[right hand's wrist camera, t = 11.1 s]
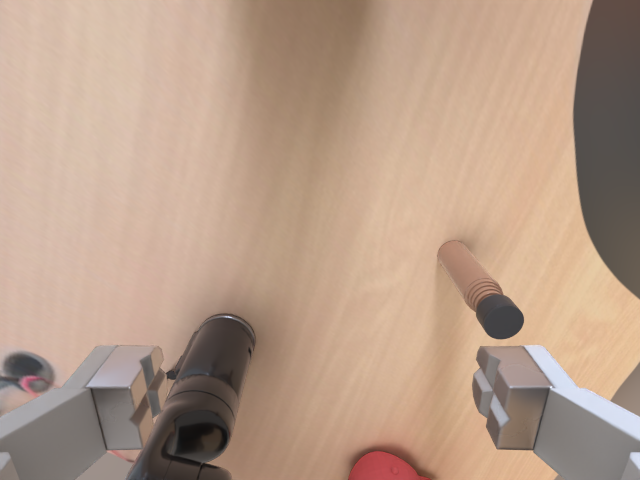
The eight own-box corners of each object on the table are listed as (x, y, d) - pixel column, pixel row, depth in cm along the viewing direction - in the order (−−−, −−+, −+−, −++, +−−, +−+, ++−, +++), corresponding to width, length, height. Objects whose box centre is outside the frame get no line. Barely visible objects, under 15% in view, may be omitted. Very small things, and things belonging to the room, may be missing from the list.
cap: (520, 311, 47) (531, 324, 45) (489, 332, 48) (497, 346, 46) (500, 287, 46) (510, 298, 43) (468, 309, 47) (476, 321, 44)
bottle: (473, 255, 62) (531, 322, 45) (448, 273, 63) (496, 345, 46) (456, 234, 61) (509, 295, 44) (431, 253, 62) (473, 319, 45)
